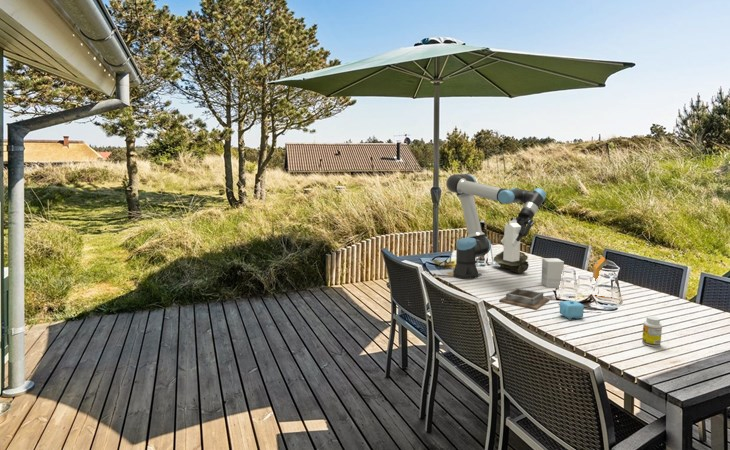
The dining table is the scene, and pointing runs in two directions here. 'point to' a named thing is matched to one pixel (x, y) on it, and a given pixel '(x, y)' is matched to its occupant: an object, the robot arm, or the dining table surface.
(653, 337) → the supplement bottle
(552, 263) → the supplement box
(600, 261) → the orange juice
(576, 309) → the light blue block
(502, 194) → the robot arm
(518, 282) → the dining table surface
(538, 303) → the holder
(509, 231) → the milk
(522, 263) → the hollow geode rock
